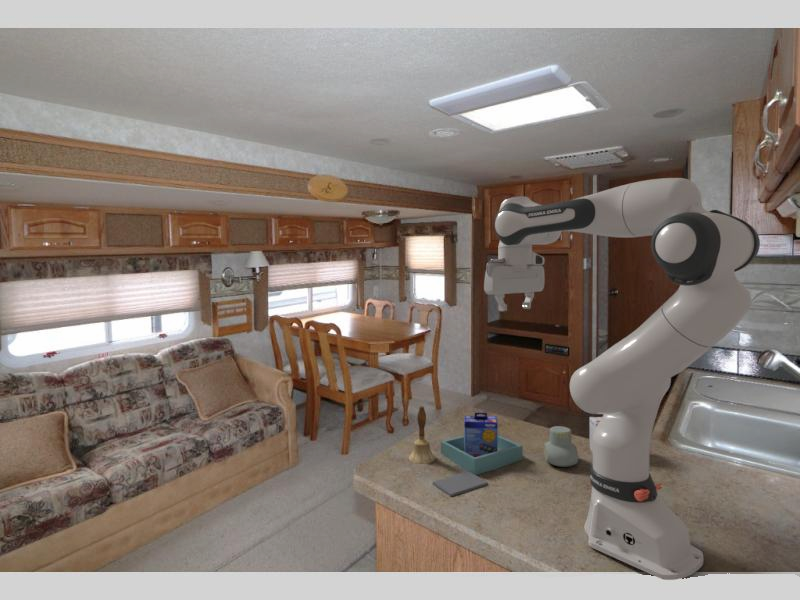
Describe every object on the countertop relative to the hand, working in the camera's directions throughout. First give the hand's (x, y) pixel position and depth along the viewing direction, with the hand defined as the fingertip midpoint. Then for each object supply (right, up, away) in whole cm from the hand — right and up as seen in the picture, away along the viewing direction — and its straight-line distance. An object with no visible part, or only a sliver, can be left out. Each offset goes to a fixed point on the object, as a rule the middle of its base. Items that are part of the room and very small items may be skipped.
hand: (514, 309), depth 124 cm
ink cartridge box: (-7, -45, +13) cm, 47 cm away
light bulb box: (+32, -44, +13) cm, 56 cm away
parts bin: (-7, -45, +13) cm, 47 cm away
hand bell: (-25, -45, +13) cm, 53 cm away
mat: (-15, -46, -4) cm, 49 cm away
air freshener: (+15, -45, +8) cm, 48 cm away
